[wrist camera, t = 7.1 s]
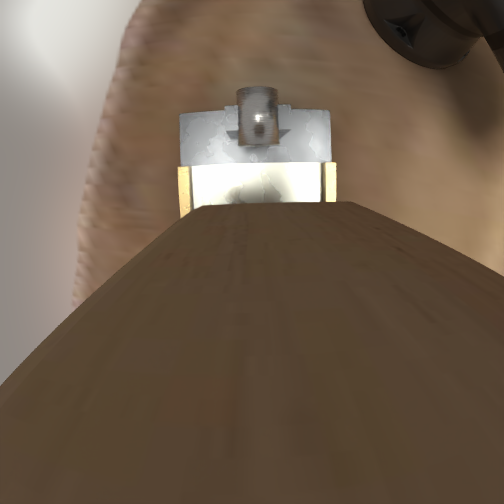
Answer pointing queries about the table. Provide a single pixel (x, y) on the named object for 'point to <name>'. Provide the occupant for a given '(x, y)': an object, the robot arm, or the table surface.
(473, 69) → the table surface
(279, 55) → the table surface
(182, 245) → the wooden block
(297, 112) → the grey metal fixture stand
